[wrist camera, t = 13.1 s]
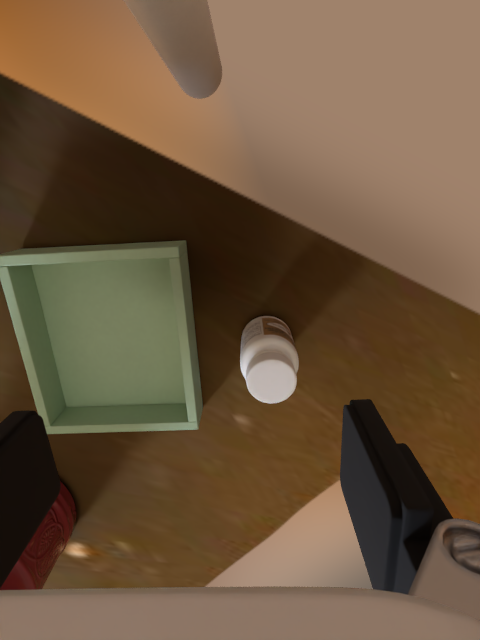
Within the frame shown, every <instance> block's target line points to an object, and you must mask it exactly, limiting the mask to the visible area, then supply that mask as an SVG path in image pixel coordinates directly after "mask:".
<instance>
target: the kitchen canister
mask: <svg viewBox="0 0 480 640" xmlns="http://www.w3.org/2000/svg"><path fill="white" fill-rule="evenodd" d="M60 484H61V488H60V492H59V495H58V497H57V498H56V500H55V502H54V503H53V505H52V507H51V508H50V510H49V511H48V513H47V515H46V516H45V518H44V519H43V521H42V523H41V524H40V526H39V527H38V529H37V531H36V532H35V534H34V535H33V537H32V539H31V540H30V542H29V543H28V545H27V547H26V548H25V550H24V551H23V553H22V555H21V556H20V558H19V559H18V561H17V563H16V564H15V566H14V567H13V569H12V571H11V572H10V574H9V575H8V577H7V579H6V580H5V582H4V583H3V585H2V587H1V588H0V590H36V589H42V588H43V586H44V584H45V582H46V580H47V578H48V576H49V574H50V572H51V570H52V568H53V566H54V565H55V563H56V561H57V559H58V557H59V555H60V554H61V553H62V552H63V551H64V549H65V547H66V545H67V543H68V541H69V539H70V537H71V535H72V531H73V526H74V524H75V519H76V508H75V504H74V501H73V498H72V496H71V494H70V492H69V491H68V490H67V488H66V487H65V486H64V485H63V483H62V482H61V481H60Z"/></svg>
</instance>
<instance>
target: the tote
mask: <svg viewBox="0 0 480 640" xmlns="http://www.w3.org/2000/svg"><path fill="white" fill-rule="evenodd" d="M0 279H1V283H2V286H3V290H4V293H5V297H6V301H7V304H8V308H9V311H10V315H11V319H12V322H13V326H14V329H15V333H16V336H17V340H18V344H19V347H20V351H21V354H22V358H23V361H24V365H25V369H26V372H27V376H28V379H29V383H30V386H31V390H32V394H33V397H34V401H35V404H36V408H37V411H38V415H40V416H41V417H42V419H43V421H44V425H45V429H46V432H47V434H68V433H100V432H133V431H165V430H197V429H198V428H199V423H200V419H201V414H202V409H203V403H202V393H201V383H200V373H199V363H198V354H197V344H196V334H195V324H194V314H193V304H192V294H191V285H190V275H189V265H188V255H187V245H186V240H184V241H165V242H145V243H126V244H106V245H87V246H68V247H48V248H29V249H19V250H15V251H11V252H8V253H4V254H0Z"/></svg>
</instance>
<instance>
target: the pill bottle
mask: <svg viewBox="0 0 480 640" xmlns="http://www.w3.org/2000/svg"><path fill="white" fill-rule="evenodd" d="M240 367H241V371H242V374H243V376H244V378H245V379H246V384H247V388H248V390H249V392H250V393H251V395H252V396H253V397H254V398H256V399H257V400H259V401H261V402H265V403H278V402H281V401H283V400H285V399H287V398H288V397H289V396H290V395H291V394H292V393H293V392H294V390H295V388H296V383H297V377H296V373H297V371H298V367H299V359H298V354H297V351H296V348H295V344H294V341H293V338H292V335H291V331H290V329H289V328H288V326H287V325H286V324H285V323H284V322H283V321H282V320H280V319H278V318H276V317H272V316H261V317H258V318H255V319H253V320H252V321H250V322H249V323H248V324H247V325H246V327H245V328H244V330H243V333H242V337H241V352H240Z"/></svg>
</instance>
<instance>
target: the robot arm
mask: <svg viewBox="0 0 480 640" xmlns="http://www.w3.org/2000/svg"><path fill="white" fill-rule="evenodd" d="M340 481H341V487H342V491H343V494H344V497H345V501H346V504H347V507H348V510H349V513H350V517H351V520H352V523H353V526H354V529H355V533H356V536H357V539H358V542H359V545H360V548H361V552H362V555H363V558H364V561H365V565H366V568H367V571H368V574H369V577H370V581H371V584H372V587H373V589H359V588H343V587H170V588H96V589H36V590H0V640H480V524H477V523H475V522H472V521H469V520H463V519H453V517H452V516H451V514H450V513H449V511H448V509H447V508H446V506H445V505H444V503H443V501H442V500H441V498H440V497H439V495H438V493H437V492H436V490H435V489H434V487H433V485H432V484H431V482H430V481H429V479H428V477H427V476H426V474H425V473H424V471H423V469H422V468H421V466H420V464H419V463H418V461H417V460H416V458H415V456H414V455H413V453H412V452H411V450H410V449H409V447H408V446H407V445H406V444H404V443H401V444H396V442H395V440H394V438H393V437H392V435H391V433H390V432H389V430H388V428H387V427H386V425H385V423H384V421H383V420H382V418H381V416H380V415H379V413H378V411H377V409H376V408H375V406H374V404H373V403H372V401H371V400H369V399H366V400H351V401H350V405H344V409H343V428H342V448H341V469H340ZM60 488H61V484H60V479H59V476H58V472H57V469H56V465H55V461H54V458H53V454H52V450H51V447H50V443H49V440H48V436H47V432H46V429H45V425H44V421H43V419H42V417H41V416H40V415H38V414H37V413H36V412H35V411H15V412H12V413H11V414H10V415H9V416H8V417H7V418H6V419H4V420H3V421H2V422H1V423H0V588H1V587H2V585H3V583H4V582H5V580H6V579H7V577H8V575H9V574H10V572H11V571H12V569H13V567H14V566H15V564H16V563H17V561H18V559H19V558H20V556H21V555H22V553H23V551H24V550H25V548H26V547H27V545H28V543H29V542H30V540H31V539H32V537H33V535H34V534H35V532H36V531H37V529H38V527H39V526H40V524H41V523H42V521H43V519H44V518H45V516H46V515H47V513H48V511H49V510H50V508H51V507H52V505H53V503H54V502H55V500H56V498H57V497H58V495H59V492H60Z"/></svg>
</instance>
